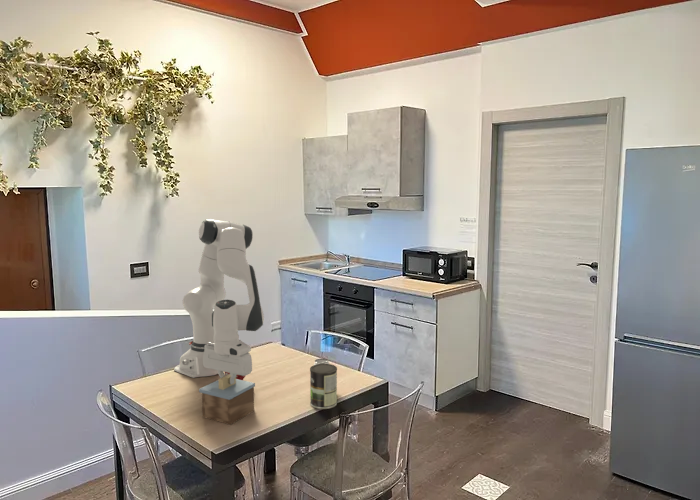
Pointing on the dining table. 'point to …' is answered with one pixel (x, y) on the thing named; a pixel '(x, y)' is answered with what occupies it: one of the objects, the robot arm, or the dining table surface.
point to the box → (228, 407)
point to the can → (321, 361)
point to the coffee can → (323, 386)
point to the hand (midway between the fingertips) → (227, 382)
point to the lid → (226, 388)
